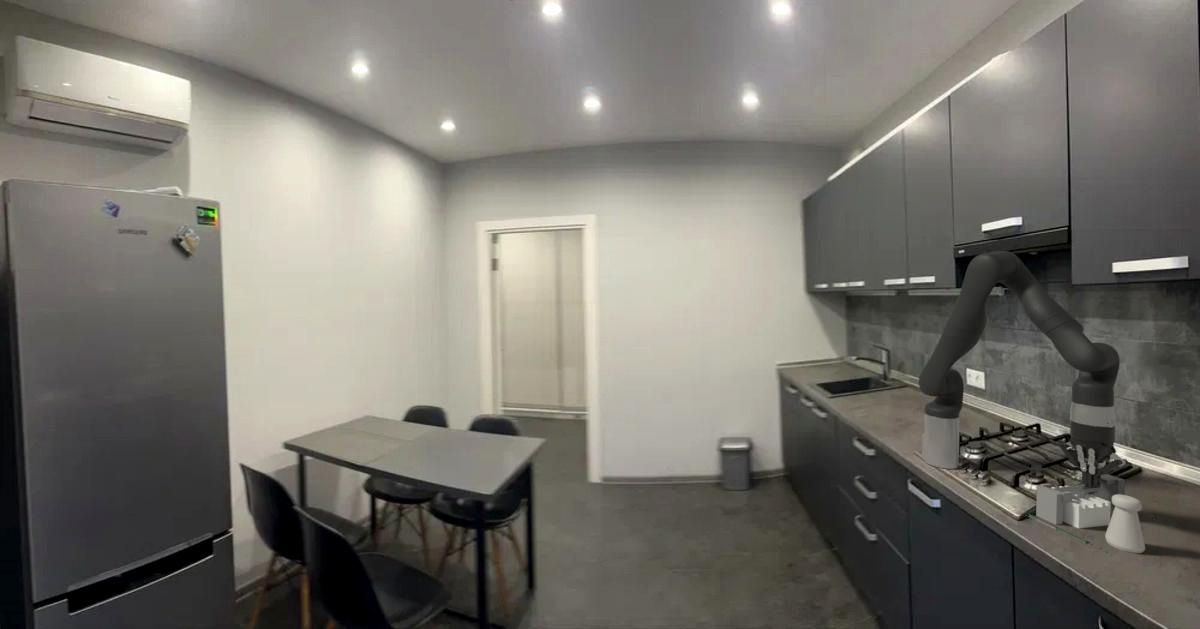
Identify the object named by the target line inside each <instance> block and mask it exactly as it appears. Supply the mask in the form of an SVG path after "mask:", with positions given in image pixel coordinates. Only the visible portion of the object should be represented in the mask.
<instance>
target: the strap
mask: <svg viewBox="0 0 1200 629" xmlns="http://www.w3.org/2000/svg"><path fill="white" fill-rule="evenodd" d="M1066 486H1067V487H1065V486H1063V487H1060V488H1059V487H1055V488H1054V489H1052V488H1050V487H1048V488H1050V489H1052V490H1055V491H1057V492H1060V493H1061V492H1068V491H1069V492H1072V495H1076V494H1083V493H1088V494H1091V493H1094V492H1095V493H1096V492H1098V491H1102V487H1101V486H1098V487H1095V488H1091V487H1088V486H1085V485H1084V483H1082V484H1076V485H1066Z"/></svg>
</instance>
